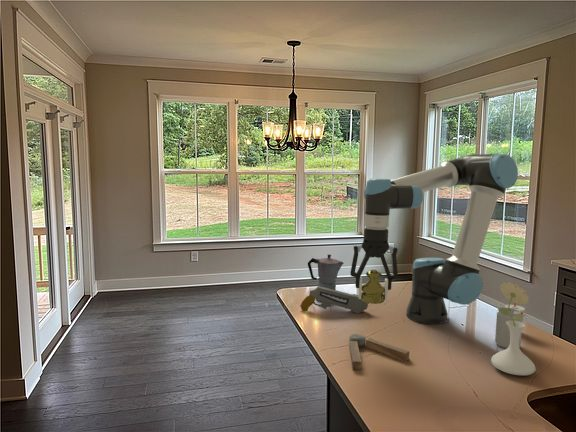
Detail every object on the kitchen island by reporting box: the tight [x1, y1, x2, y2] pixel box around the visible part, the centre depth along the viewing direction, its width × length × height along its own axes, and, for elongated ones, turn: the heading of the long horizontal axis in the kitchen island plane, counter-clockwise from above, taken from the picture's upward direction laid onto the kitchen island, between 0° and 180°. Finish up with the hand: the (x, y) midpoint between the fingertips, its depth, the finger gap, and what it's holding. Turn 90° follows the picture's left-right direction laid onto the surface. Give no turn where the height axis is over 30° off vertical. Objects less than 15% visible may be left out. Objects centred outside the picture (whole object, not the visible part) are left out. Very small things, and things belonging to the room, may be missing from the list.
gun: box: [299, 285, 370, 314], centre depth 168 cm, size 3×25×15 cm, turn 88°
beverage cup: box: [504, 303, 526, 315], centre depth 147 cm, size 6×6×14 cm
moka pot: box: [307, 254, 344, 302], centre depth 181 cm, size 10×15×20 cm, turn 89°
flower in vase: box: [490, 281, 537, 376], centre depth 120 cm, size 13×11×25 cm
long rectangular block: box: [365, 337, 410, 362], centre depth 131 cm, size 2×14×2 cm, turn 46°
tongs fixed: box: [348, 333, 367, 371], centre depth 129 cm, size 5×20×2 cm, turn 176°
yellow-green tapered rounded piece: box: [361, 269, 385, 305], centre depth 134 cm, size 7×7×10 cm
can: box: [494, 307, 524, 350], centre depth 136 cm, size 8×8×12 cm
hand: (372, 298), depth 134 cm, fingers closed on yellow-green tapered rounded piece, 7 cm apart
